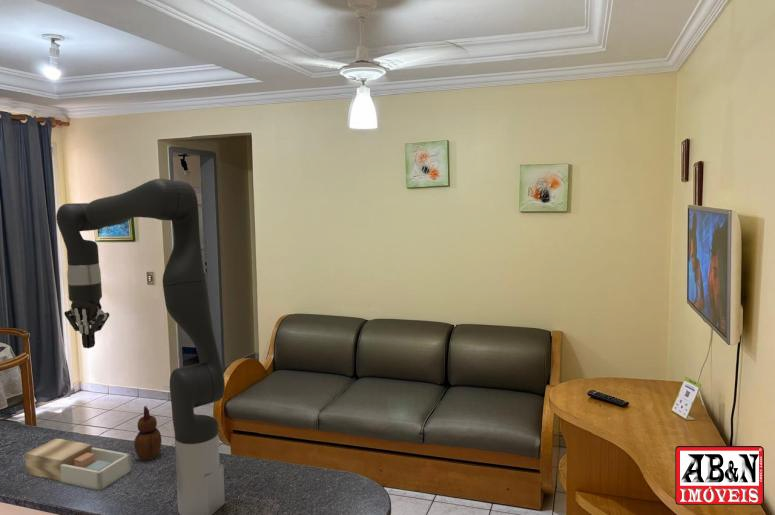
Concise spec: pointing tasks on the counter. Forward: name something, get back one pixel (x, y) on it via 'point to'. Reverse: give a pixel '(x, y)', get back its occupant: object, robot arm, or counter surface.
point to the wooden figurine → (147, 437)
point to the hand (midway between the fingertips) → (88, 347)
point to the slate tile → (98, 465)
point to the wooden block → (54, 457)
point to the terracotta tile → (84, 460)
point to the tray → (98, 478)
